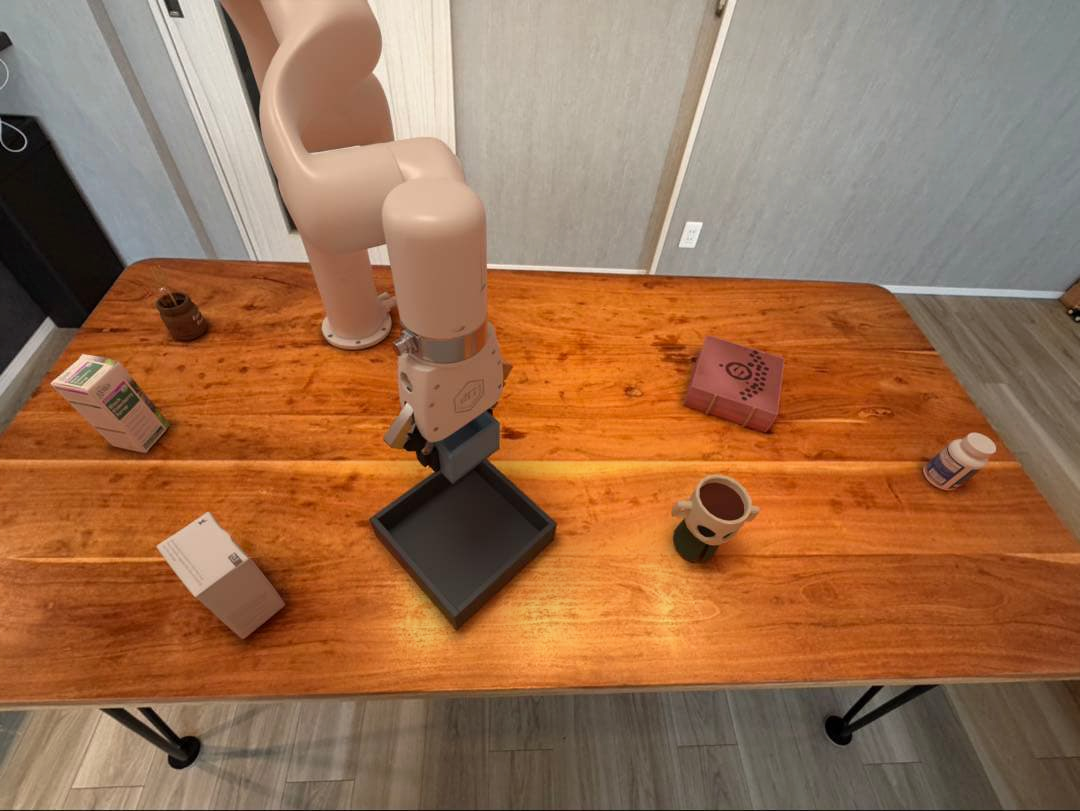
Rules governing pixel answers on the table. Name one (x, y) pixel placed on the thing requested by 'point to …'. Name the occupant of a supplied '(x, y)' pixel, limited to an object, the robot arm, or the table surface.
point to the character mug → (711, 516)
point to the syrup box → (112, 402)
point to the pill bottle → (959, 461)
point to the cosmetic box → (221, 575)
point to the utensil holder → (179, 312)
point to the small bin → (468, 446)
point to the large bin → (464, 537)
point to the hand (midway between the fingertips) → (456, 443)
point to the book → (736, 383)
